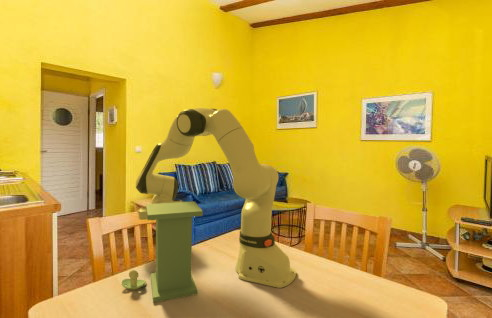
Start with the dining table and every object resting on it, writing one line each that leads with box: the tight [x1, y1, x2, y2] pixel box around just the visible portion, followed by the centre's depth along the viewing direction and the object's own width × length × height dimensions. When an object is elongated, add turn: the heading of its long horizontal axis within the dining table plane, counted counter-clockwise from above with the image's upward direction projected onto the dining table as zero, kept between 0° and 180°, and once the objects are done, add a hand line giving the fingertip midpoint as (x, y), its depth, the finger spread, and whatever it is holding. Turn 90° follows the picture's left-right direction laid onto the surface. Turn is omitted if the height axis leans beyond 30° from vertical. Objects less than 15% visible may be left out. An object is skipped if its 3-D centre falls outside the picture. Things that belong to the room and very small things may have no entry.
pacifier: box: [121, 269, 147, 291], centre depth 88 cm, size 7×6×6 cm
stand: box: [145, 200, 204, 303], centre depth 89 cm, size 15×16×26 cm
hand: (165, 217), depth 109 cm, fingers open, 8 cm apart
